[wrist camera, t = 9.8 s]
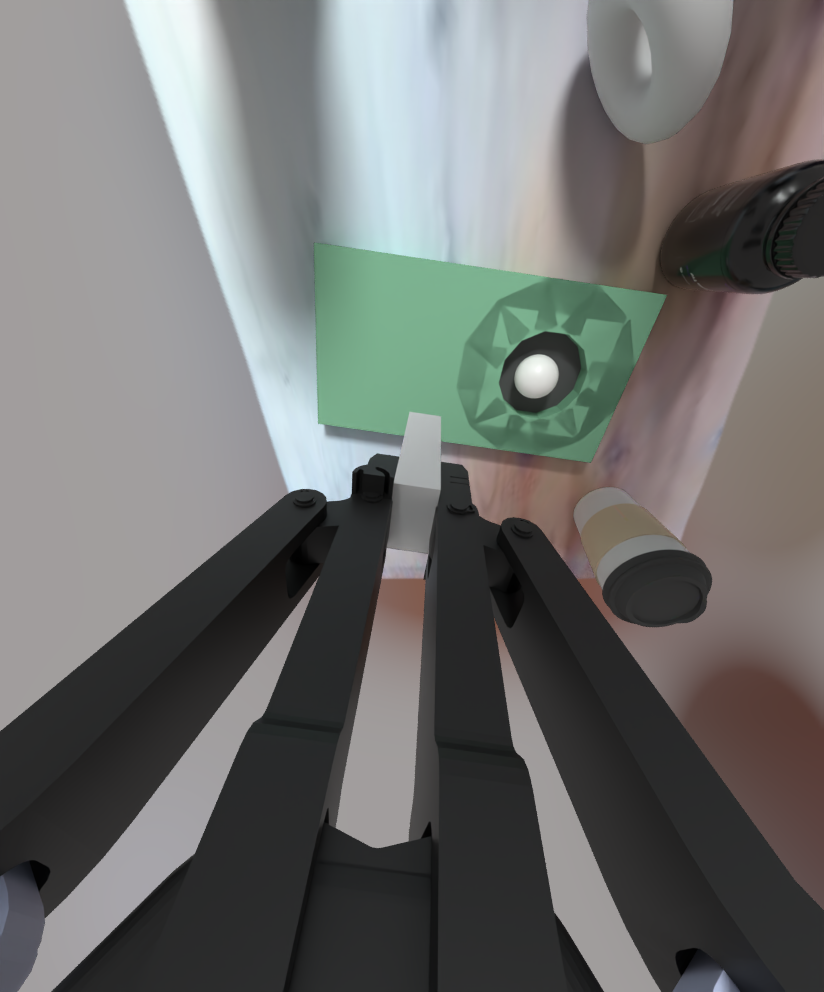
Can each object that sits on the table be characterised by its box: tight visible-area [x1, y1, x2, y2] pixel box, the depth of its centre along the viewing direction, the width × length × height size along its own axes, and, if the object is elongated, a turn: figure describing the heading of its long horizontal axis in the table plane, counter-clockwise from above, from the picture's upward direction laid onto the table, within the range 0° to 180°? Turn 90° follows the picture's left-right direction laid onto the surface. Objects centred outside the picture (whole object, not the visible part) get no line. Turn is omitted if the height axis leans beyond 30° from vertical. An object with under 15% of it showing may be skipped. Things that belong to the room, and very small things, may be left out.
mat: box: [314, 243, 667, 463], centre depth 34 cm, size 16×30×2 cm, turn 83°
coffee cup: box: [573, 487, 712, 627], centre depth 37 cm, size 9×9×15 cm
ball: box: [514, 354, 559, 398], centre depth 33 cm, size 4×4×4 cm
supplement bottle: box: [660, 159, 824, 294], centre depth 24 cm, size 7×7×12 cm
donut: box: [587, 0, 733, 144], centre depth 20 cm, size 10×4×10 cm, turn 38°
